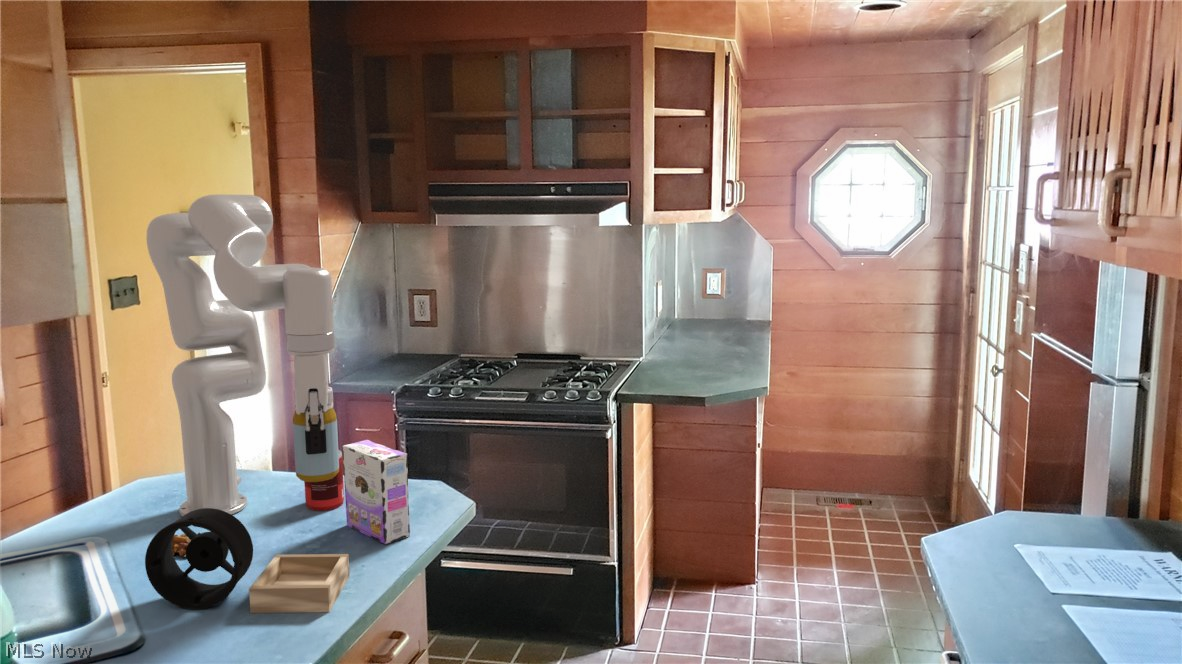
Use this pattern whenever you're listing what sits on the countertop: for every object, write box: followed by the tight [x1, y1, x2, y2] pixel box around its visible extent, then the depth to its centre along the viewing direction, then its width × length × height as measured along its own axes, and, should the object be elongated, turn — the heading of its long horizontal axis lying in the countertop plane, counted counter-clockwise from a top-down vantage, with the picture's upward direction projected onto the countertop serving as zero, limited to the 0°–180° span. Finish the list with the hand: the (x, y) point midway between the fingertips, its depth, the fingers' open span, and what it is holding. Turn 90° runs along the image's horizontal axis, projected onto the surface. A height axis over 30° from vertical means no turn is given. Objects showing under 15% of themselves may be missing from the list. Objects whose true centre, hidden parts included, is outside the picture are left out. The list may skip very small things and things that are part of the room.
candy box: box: [341, 439, 411, 545], centre depth 155 cm, size 14×6×16 cm, turn 47°
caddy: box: [248, 553, 350, 614], centre depth 131 cm, size 12×12×4 cm
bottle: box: [292, 386, 339, 482], centre depth 137 cm, size 7×7×15 cm
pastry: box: [172, 532, 202, 558], centre depth 148 cm, size 7×12×4 cm, turn 71°
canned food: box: [303, 449, 345, 512], centre depth 169 cm, size 8×8×11 cm
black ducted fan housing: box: [144, 508, 254, 610], centre depth 130 cm, size 14×14×10 cm
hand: (316, 445), depth 137 cm, fingers closed on bottle, 7 cm apart
